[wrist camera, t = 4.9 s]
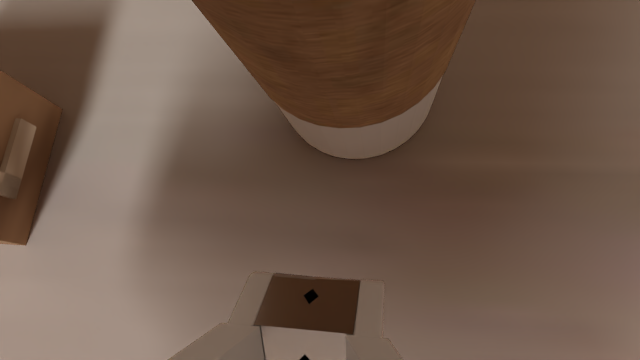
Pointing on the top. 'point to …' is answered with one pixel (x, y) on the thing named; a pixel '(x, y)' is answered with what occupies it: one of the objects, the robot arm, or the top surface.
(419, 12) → the coffee cup
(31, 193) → the lettered cube
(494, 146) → the top surface
